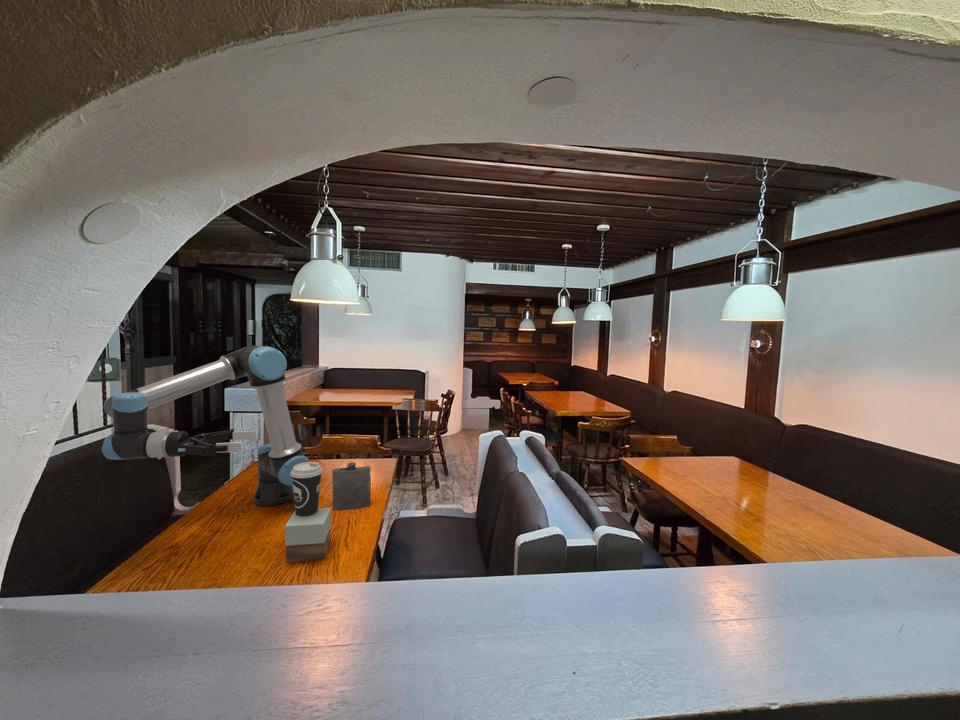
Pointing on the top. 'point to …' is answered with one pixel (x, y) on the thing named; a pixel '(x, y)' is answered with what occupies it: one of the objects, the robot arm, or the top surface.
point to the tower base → (307, 551)
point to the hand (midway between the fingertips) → (248, 440)
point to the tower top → (308, 528)
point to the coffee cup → (306, 487)
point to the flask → (351, 487)
